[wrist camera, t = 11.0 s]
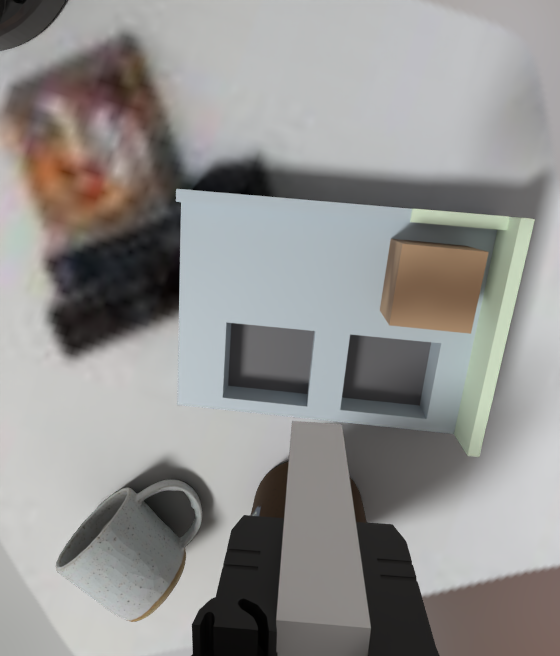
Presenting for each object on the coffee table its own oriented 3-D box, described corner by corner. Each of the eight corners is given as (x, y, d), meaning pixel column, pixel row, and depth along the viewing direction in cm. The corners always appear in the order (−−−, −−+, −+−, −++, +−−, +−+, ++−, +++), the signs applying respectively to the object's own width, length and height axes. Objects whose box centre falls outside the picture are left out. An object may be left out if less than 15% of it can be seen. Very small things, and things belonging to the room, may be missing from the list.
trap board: (191, 190, 32) (167, 187, 27) (497, 216, 31) (535, 218, 26) (186, 391, 37) (165, 423, 31) (454, 419, 36) (479, 457, 30)
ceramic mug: (146, 573, 42) (112, 651, 35) (83, 516, 41) (34, 585, 33) (227, 514, 40) (209, 583, 33) (163, 451, 39) (130, 509, 31)
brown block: (390, 238, 30) (402, 243, 26) (465, 245, 30) (488, 251, 26) (379, 310, 31) (389, 325, 27) (451, 317, 31) (470, 333, 27)
